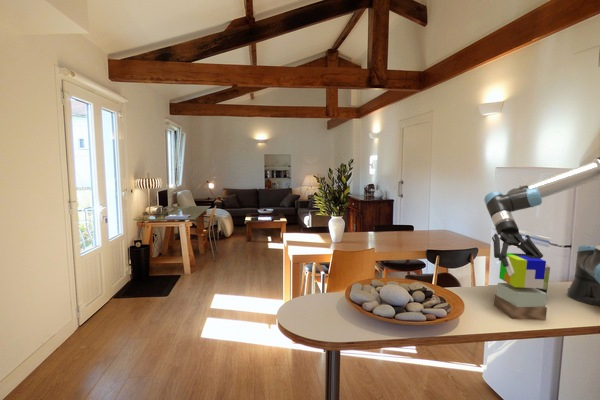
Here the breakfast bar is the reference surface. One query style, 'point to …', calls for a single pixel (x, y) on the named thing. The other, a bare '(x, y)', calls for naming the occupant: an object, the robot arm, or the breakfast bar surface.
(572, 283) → the robot arm
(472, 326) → the breakfast bar surface
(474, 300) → the breakfast bar surface
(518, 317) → the walnut base slab
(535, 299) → the grey-green top slab
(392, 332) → the breakfast bar surface
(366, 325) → the breakfast bar surface
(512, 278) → the puzzle toy
